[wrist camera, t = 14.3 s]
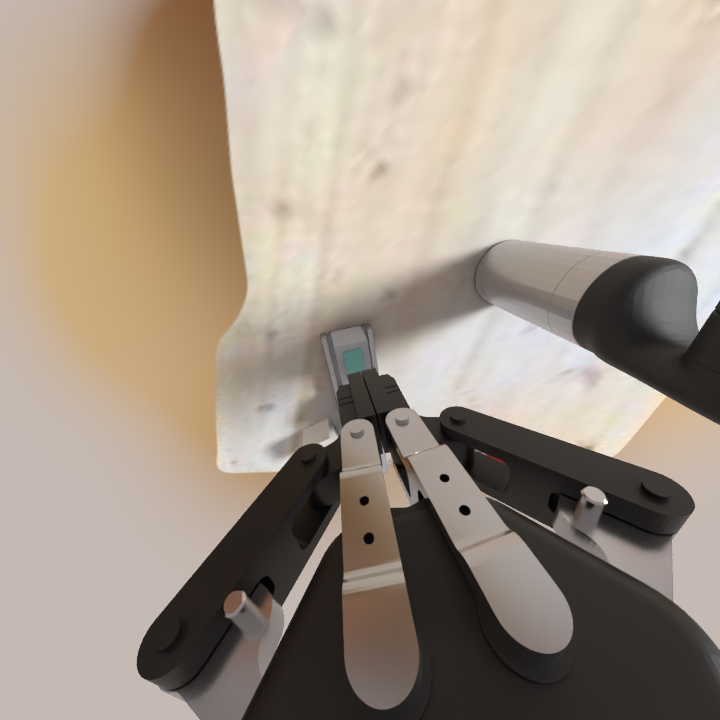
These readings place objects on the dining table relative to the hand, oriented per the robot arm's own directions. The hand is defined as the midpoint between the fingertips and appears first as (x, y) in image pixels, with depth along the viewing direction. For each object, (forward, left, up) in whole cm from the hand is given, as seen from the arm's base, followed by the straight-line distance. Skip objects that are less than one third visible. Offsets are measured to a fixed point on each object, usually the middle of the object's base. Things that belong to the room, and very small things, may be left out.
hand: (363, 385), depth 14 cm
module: (-1, +10, -25) cm, 27 cm away
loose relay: (+7, +26, -26) cm, 38 cm away
